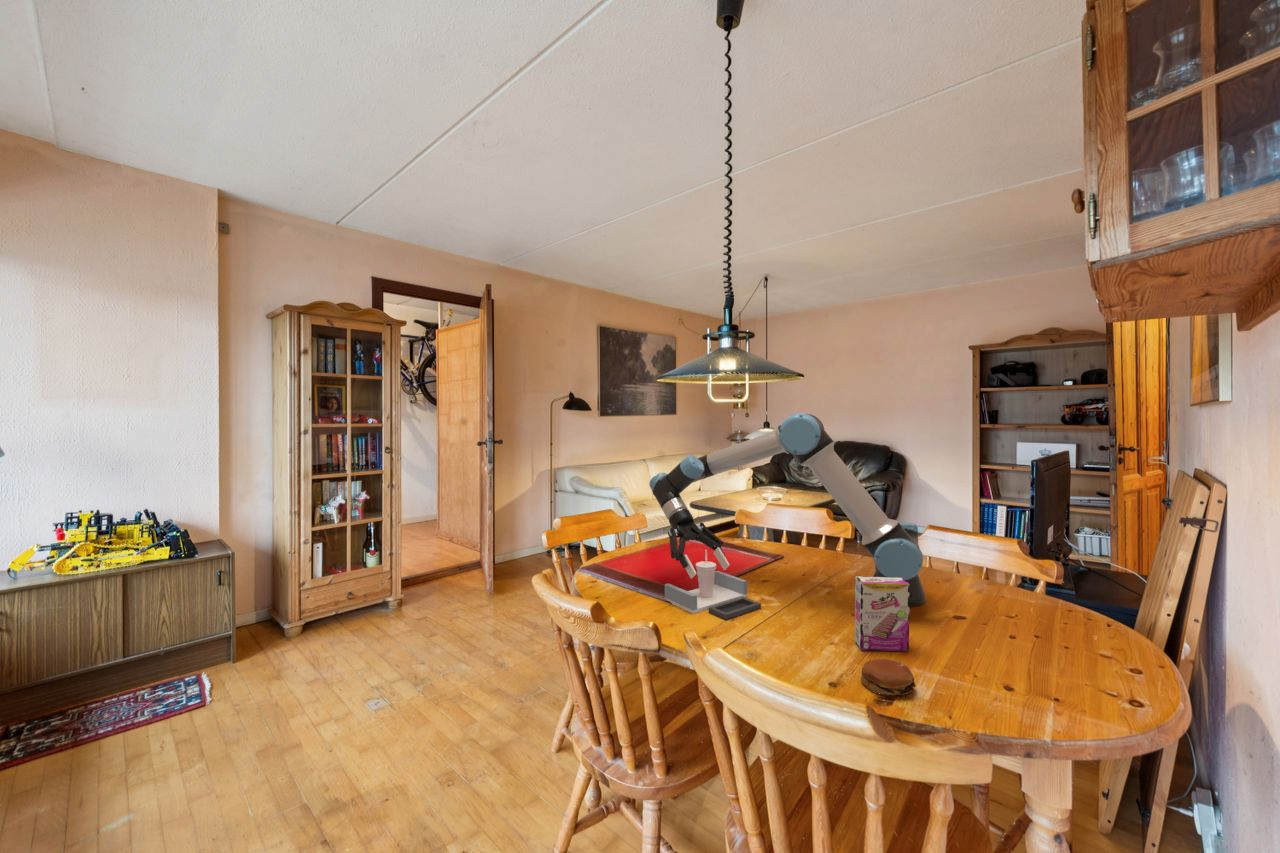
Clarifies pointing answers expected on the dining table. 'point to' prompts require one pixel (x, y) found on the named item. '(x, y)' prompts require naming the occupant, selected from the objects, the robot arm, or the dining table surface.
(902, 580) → the candy bar box
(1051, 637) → the dining table surface
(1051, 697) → the dining table surface
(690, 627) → the dining table surface
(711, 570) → the smoothie
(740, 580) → the walled channel
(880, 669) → the burger
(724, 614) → the tray
